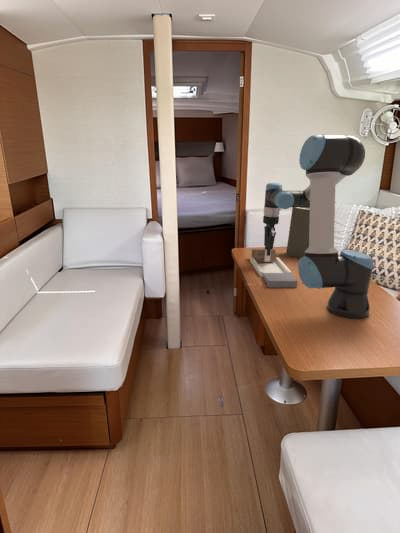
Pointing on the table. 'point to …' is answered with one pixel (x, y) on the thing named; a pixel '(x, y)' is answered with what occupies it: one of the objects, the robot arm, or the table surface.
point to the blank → (262, 255)
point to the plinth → (279, 280)
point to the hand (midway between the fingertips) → (267, 260)
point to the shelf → (270, 266)
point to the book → (298, 232)
